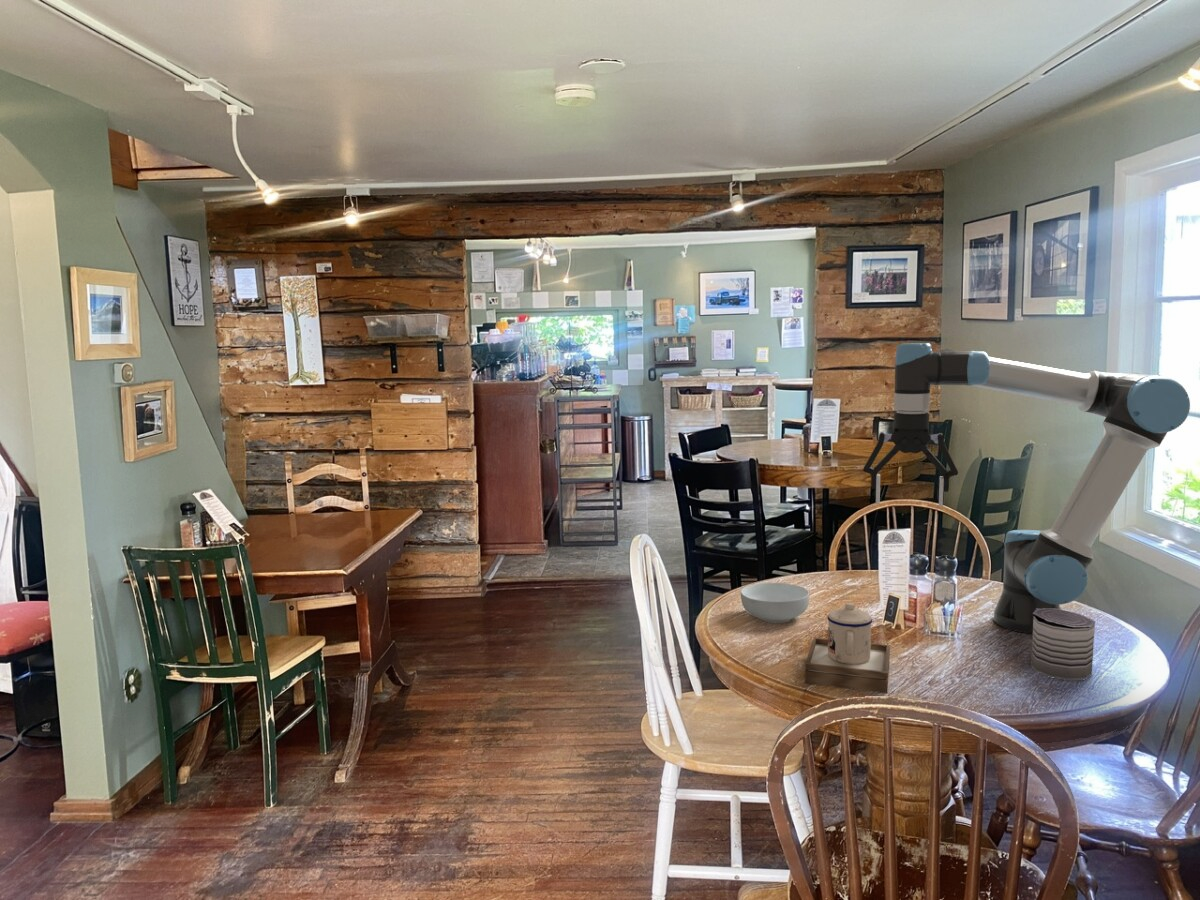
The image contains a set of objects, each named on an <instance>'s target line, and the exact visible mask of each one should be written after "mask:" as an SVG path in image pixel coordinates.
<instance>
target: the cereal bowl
mask: <svg viewBox="0 0 1200 900" xmlns="http://www.w3.org/2000/svg"><path fill="white" fill-rule="evenodd" d="M740 600H741V604H742V606H743V608H744V610H745V611H746V612H747V613H748V614H749V615H750V616H753V617H755V618H756V619H757V618H758V619H759V620H761V621H763V622H766V623H770V624H771V623H772V624H783V623H787V622H790V621H791V620H792V619H795V618H798V617H799V616H801V615H803V613H805V612H806V610H807V609H808V607H809V604H810V591H809V590H808V589H807V588H805V587H803V586H800V585H796V584H793V583H792V584H791V583H787V582H785V583H784V582H775V581H774V582H773V581H772V582H758V583H754V584H750V585H746V586H745V587H744V586H743V588H741V590H740Z"/></svg>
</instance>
